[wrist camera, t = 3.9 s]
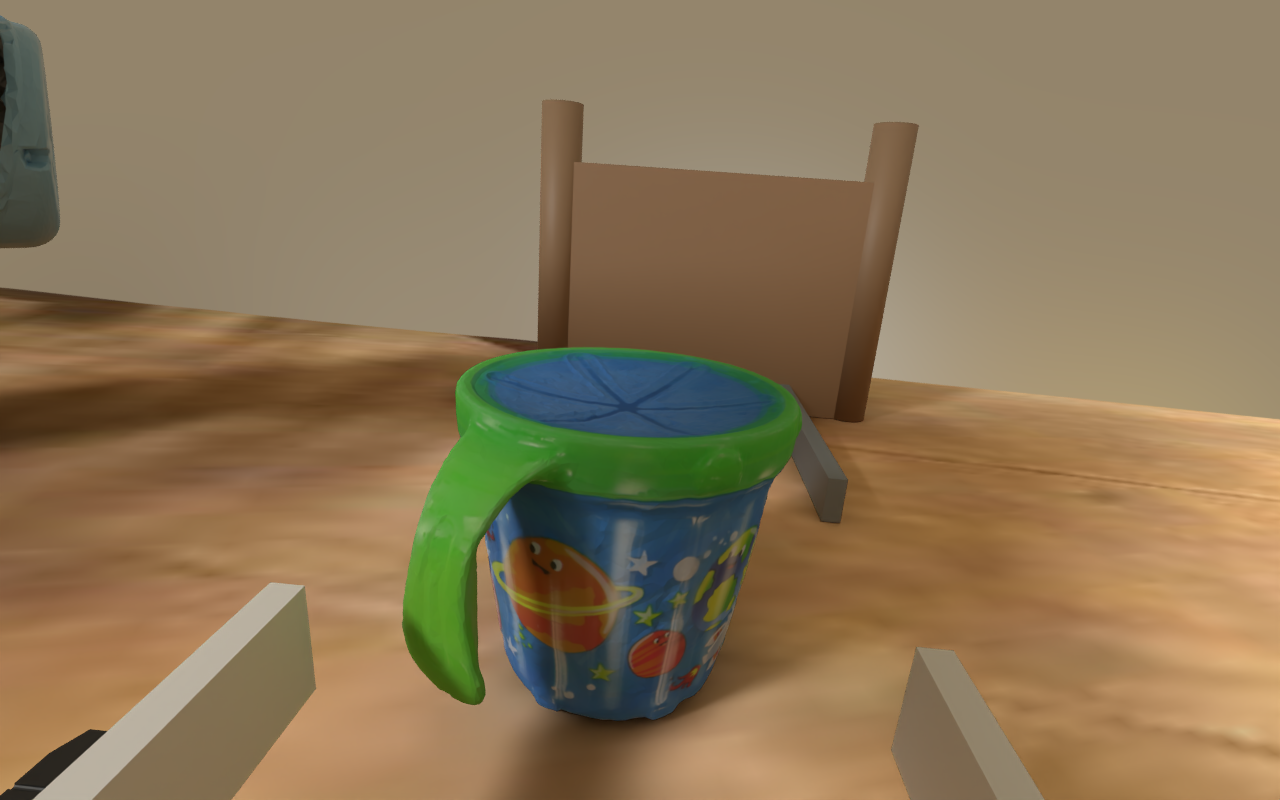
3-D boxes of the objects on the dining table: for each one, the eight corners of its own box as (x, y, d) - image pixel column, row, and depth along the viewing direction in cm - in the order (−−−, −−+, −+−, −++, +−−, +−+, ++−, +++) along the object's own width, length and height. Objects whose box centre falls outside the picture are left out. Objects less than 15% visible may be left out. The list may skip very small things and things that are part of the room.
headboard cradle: (460, 488, 34) (450, 32, 27) (541, 385, 53) (546, 105, 47) (964, 534, 33) (1082, 71, 26) (857, 411, 52) (910, 128, 46)
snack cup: (638, 524, 31) (653, 325, 28) (837, 618, 25) (884, 377, 22) (325, 689, 20) (293, 384, 17) (548, 943, 14) (563, 528, 10)
